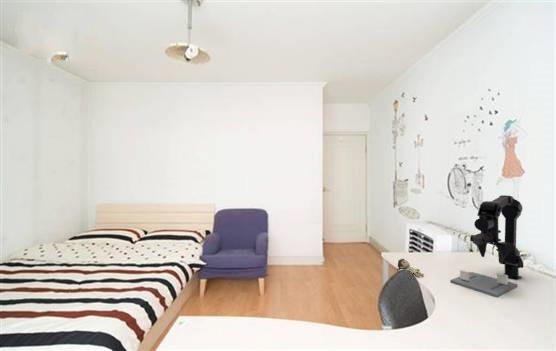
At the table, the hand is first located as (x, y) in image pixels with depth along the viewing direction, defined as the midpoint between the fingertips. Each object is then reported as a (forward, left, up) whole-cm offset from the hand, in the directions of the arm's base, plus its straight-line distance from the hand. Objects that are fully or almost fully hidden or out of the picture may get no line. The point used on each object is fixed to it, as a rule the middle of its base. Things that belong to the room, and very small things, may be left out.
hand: (491, 259), depth 133 cm
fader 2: (-6, +2, -12) cm, 13 cm away
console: (-1, -4, -13) cm, 14 cm away
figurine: (+15, -33, -14) cm, 39 cm away
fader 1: (+4, -10, -12) cm, 16 cm away
